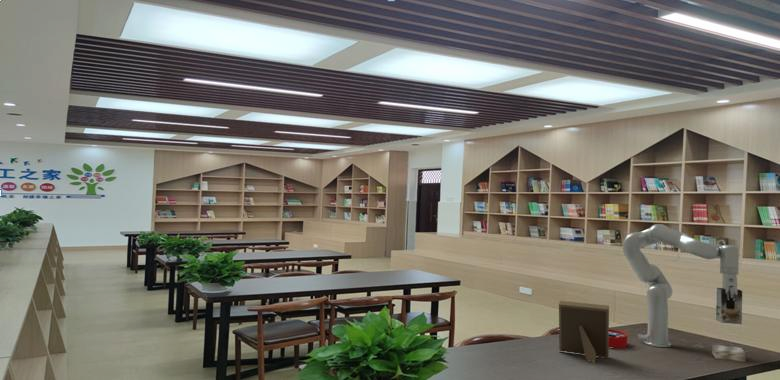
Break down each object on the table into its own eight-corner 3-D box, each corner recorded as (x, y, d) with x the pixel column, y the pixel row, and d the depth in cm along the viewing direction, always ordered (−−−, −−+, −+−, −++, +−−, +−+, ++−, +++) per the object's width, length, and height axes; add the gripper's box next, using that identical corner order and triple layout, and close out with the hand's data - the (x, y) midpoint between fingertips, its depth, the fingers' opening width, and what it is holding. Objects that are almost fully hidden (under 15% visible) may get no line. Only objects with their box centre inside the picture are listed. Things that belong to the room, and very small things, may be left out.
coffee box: (721, 323, 252) (721, 289, 253) (715, 320, 258) (715, 287, 259) (742, 324, 250) (742, 290, 251) (736, 321, 257) (736, 288, 257)
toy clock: (584, 326, 286) (624, 330, 281) (584, 337, 286) (624, 341, 280) (587, 334, 267) (629, 338, 261) (586, 346, 267) (629, 350, 261)
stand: (715, 358, 251) (715, 349, 251) (712, 352, 261) (712, 344, 261) (745, 361, 246) (745, 353, 247) (740, 356, 257) (740, 347, 257)
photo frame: (560, 350, 257) (561, 298, 258) (608, 356, 248) (609, 303, 249) (556, 357, 244) (557, 304, 244) (607, 365, 235) (608, 309, 235)
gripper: (742, 273, 246) (742, 311, 245) (734, 269, 262) (734, 305, 261) (723, 271, 249) (723, 309, 248) (717, 268, 265) (716, 303, 264)
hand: (728, 307), depth 255 cm, fingers closed on coffee box, 7 cm apart
